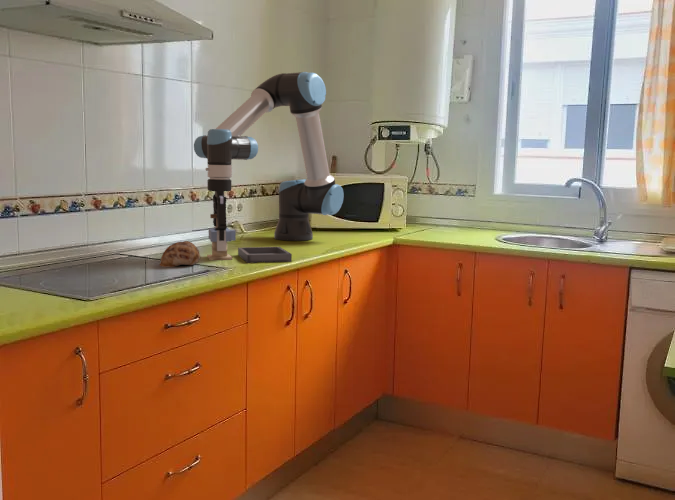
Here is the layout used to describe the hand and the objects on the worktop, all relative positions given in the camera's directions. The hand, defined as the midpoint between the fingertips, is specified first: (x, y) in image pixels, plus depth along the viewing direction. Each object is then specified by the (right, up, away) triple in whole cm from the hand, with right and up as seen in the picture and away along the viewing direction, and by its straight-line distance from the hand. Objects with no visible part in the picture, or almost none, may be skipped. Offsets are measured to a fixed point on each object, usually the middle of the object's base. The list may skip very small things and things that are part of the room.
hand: (219, 248), depth 232 cm
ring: (0, +3, 0) cm, 3 cm away
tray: (+14, -3, +2) cm, 15 cm away
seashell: (-10, -5, -14) cm, 18 cm away
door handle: (0, -3, 0) cm, 3 cm away
